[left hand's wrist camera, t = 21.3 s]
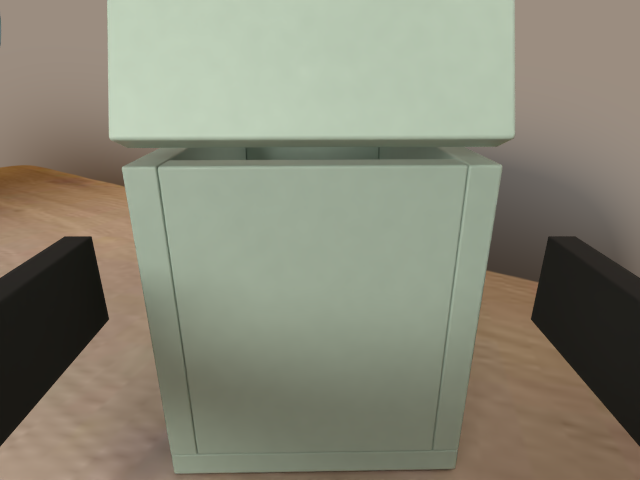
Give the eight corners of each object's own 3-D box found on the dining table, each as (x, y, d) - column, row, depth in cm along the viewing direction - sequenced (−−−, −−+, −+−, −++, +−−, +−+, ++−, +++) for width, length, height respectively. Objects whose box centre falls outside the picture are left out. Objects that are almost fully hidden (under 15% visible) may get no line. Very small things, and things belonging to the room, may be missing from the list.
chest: (242, 274, 27) (230, 113, 24) (384, 273, 28) (393, 112, 24) (173, 474, 14) (121, 166, 10) (455, 470, 14) (504, 164, 10)
